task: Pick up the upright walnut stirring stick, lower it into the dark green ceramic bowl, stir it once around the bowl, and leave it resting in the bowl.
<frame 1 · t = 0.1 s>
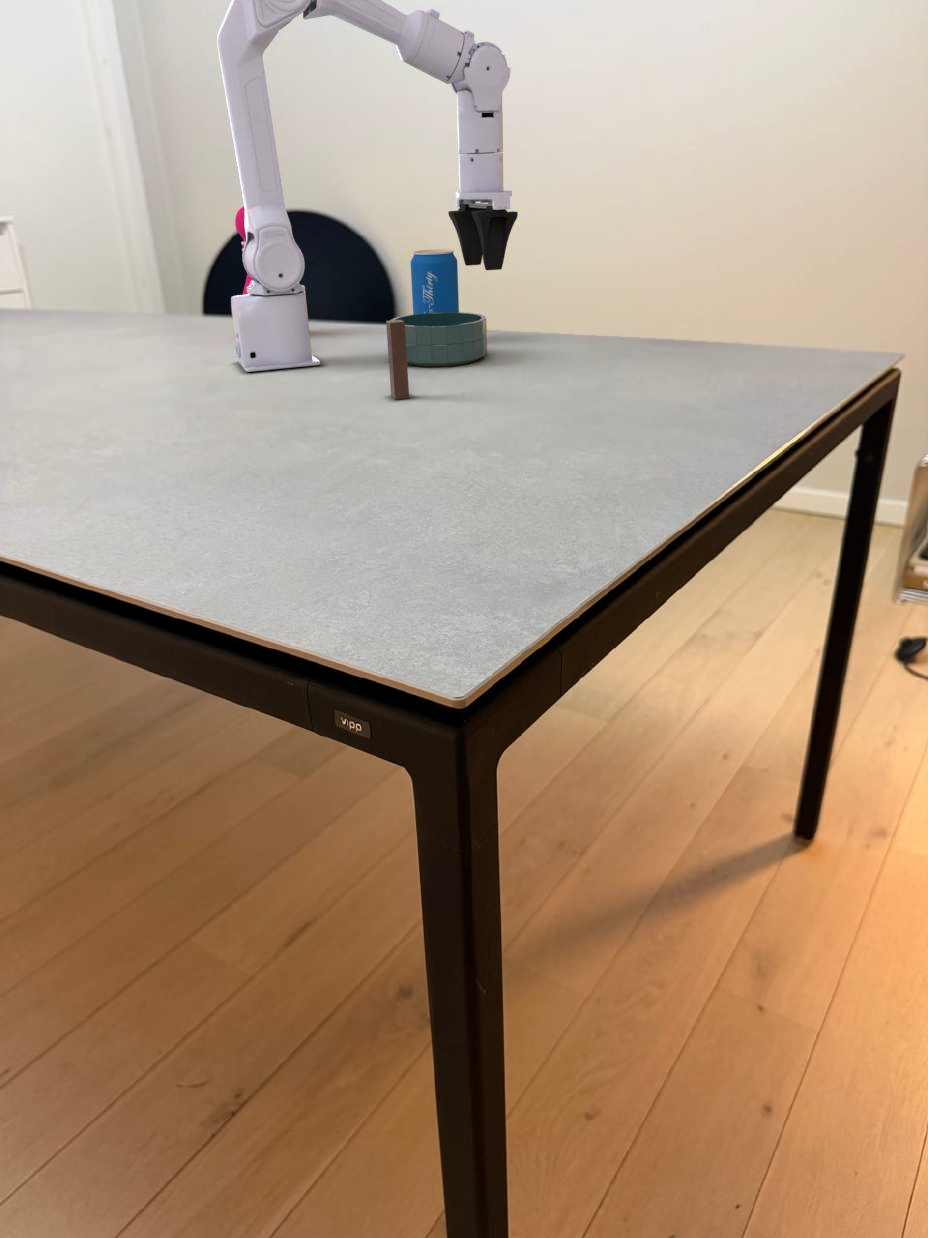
hand: (483, 267, 123), 10 cm above the table, tool pointing down, fingers open, 7 cm apart
beverage can: (437, 342, 132), on the table
bowl: (439, 358, 119), on the table
stirring stick: (400, 397, 100), on the table
pepper mill: (270, 337, 141), on the table
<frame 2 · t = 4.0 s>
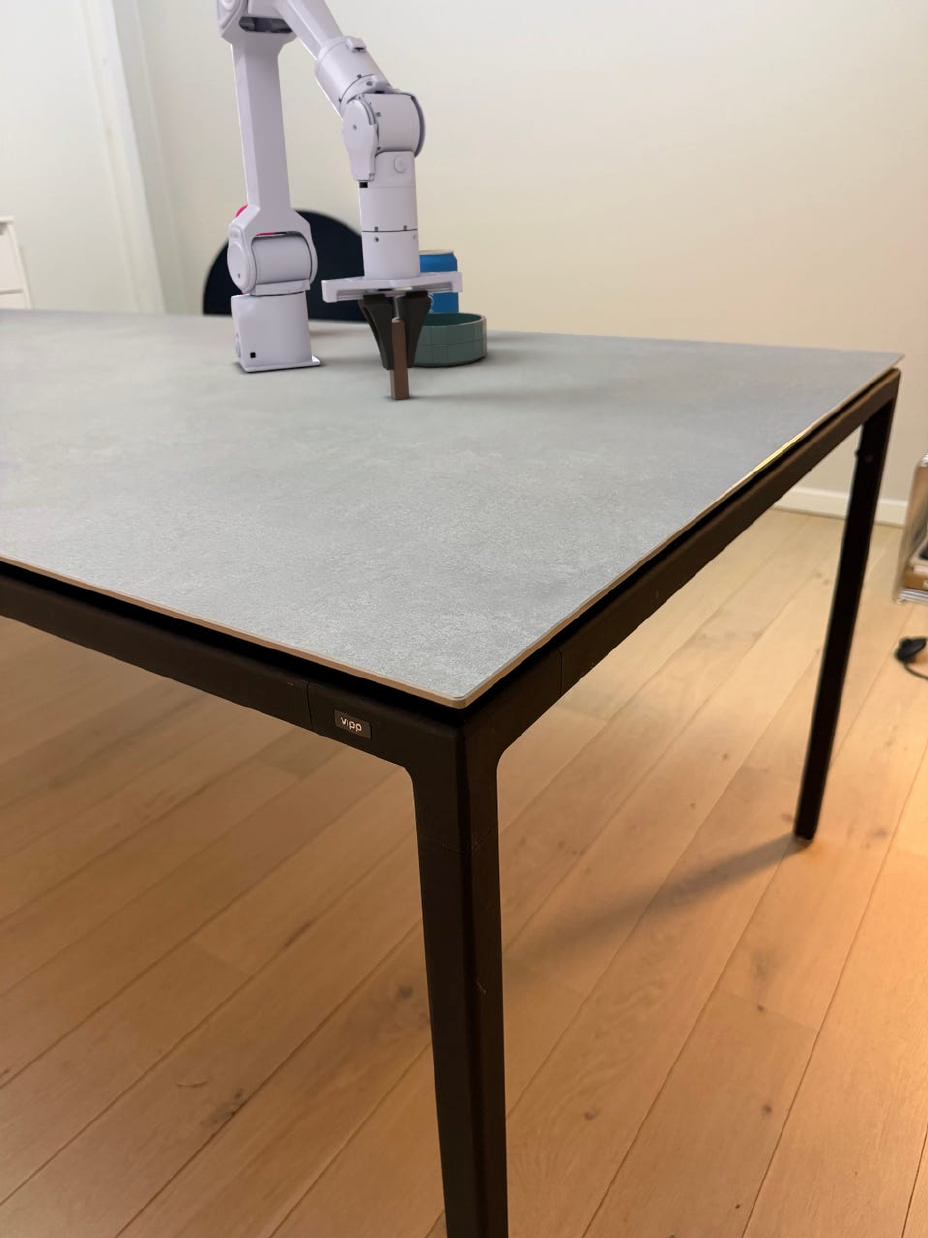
hand: (398, 367, 98), 3 cm above the table, tool pointing down, fingers closed on stirring stick, 1 cm apart
stirring stick: (400, 397, 100), on the table, touching gripper
everything else where it was.
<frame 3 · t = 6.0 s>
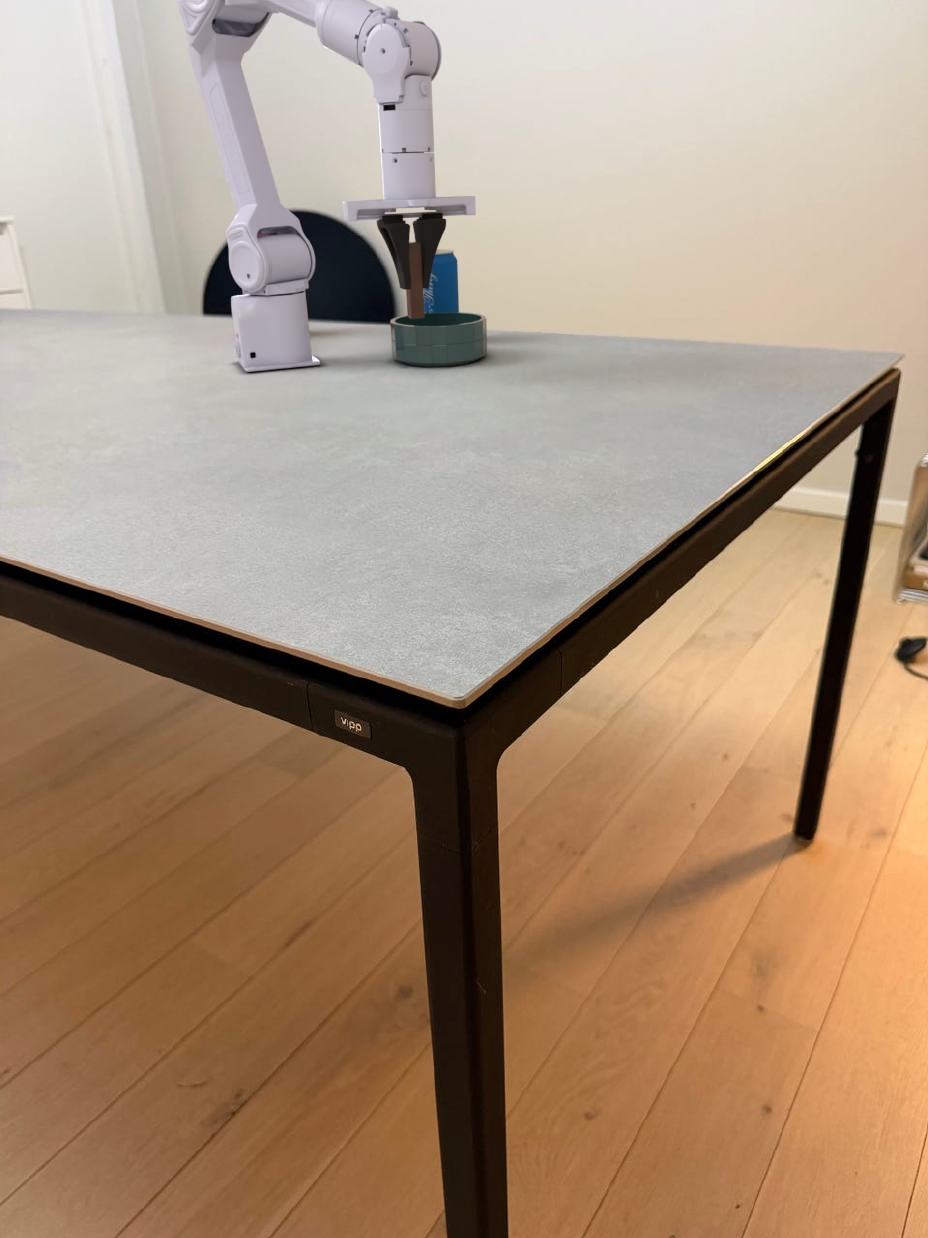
hand: (414, 287, 104), 10 cm above the table, tool pointing down, fingers closed on stirring stick
stirring stick: (416, 317, 105), point 7 cm above the table, touching gripper
everything else where it was.
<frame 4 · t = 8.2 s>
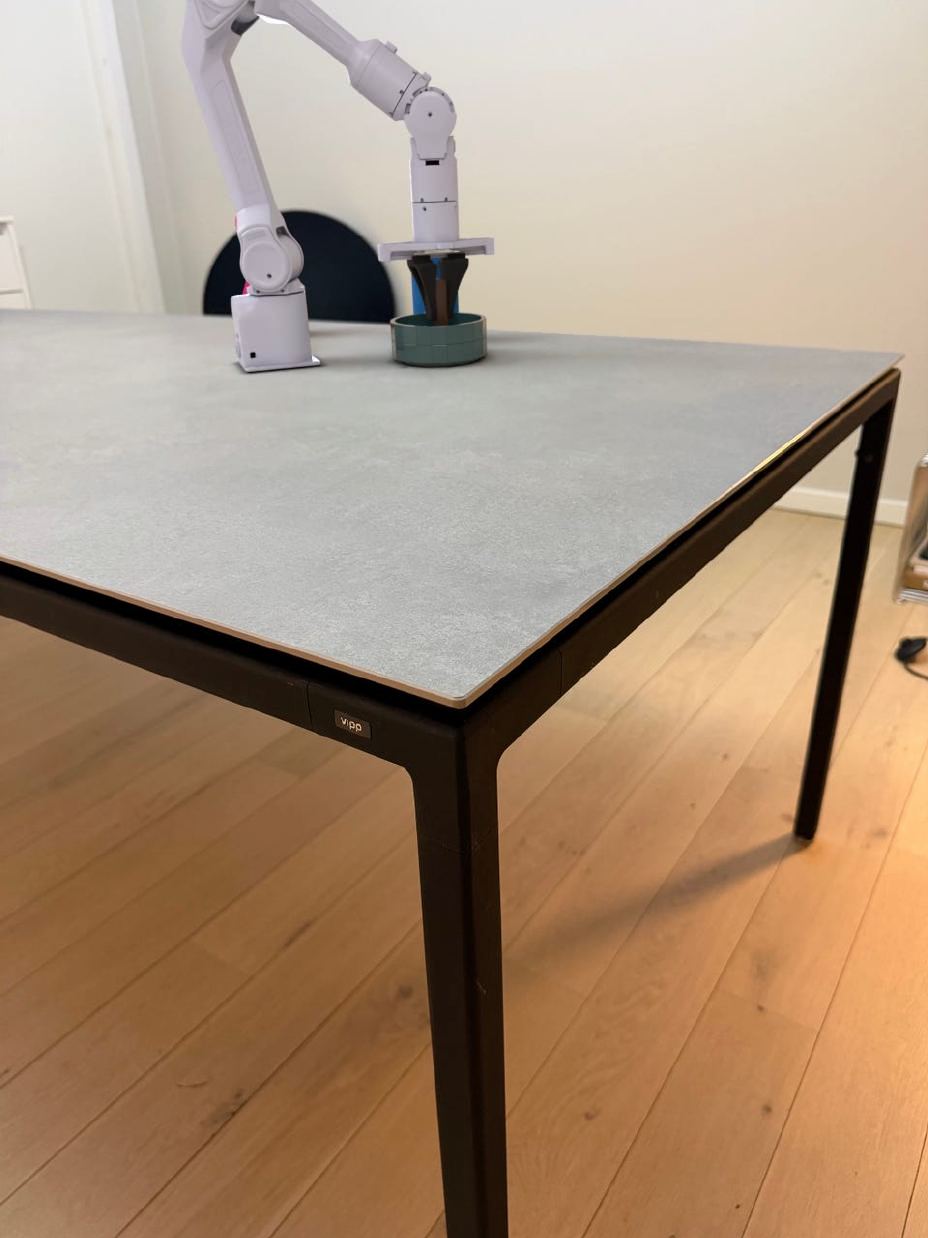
hand: (439, 318, 117), 5 cm above the table, tool pointing down, fingers closed on stirring stick, 1 cm apart
stirring stick: (441, 344, 118), point 2 cm above the table, touching gripper
everything else where it was.
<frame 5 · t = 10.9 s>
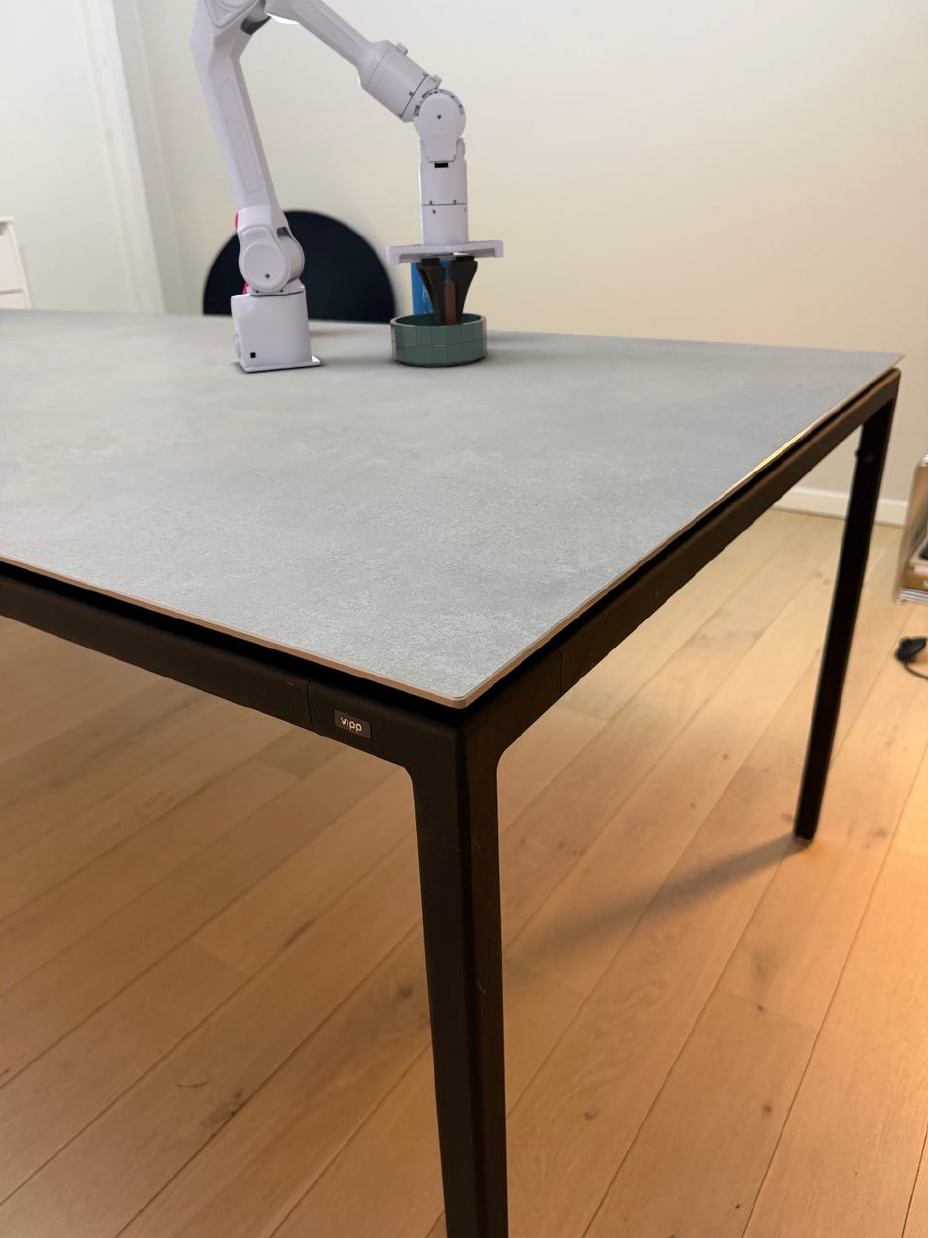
hand: (448, 321, 117), 5 cm above the table, tool pointing down, fingers closed on stirring stick, 1 cm apart
stirring stick: (449, 347, 118), point 2 cm above the table, touching gripper
everything else where it was.
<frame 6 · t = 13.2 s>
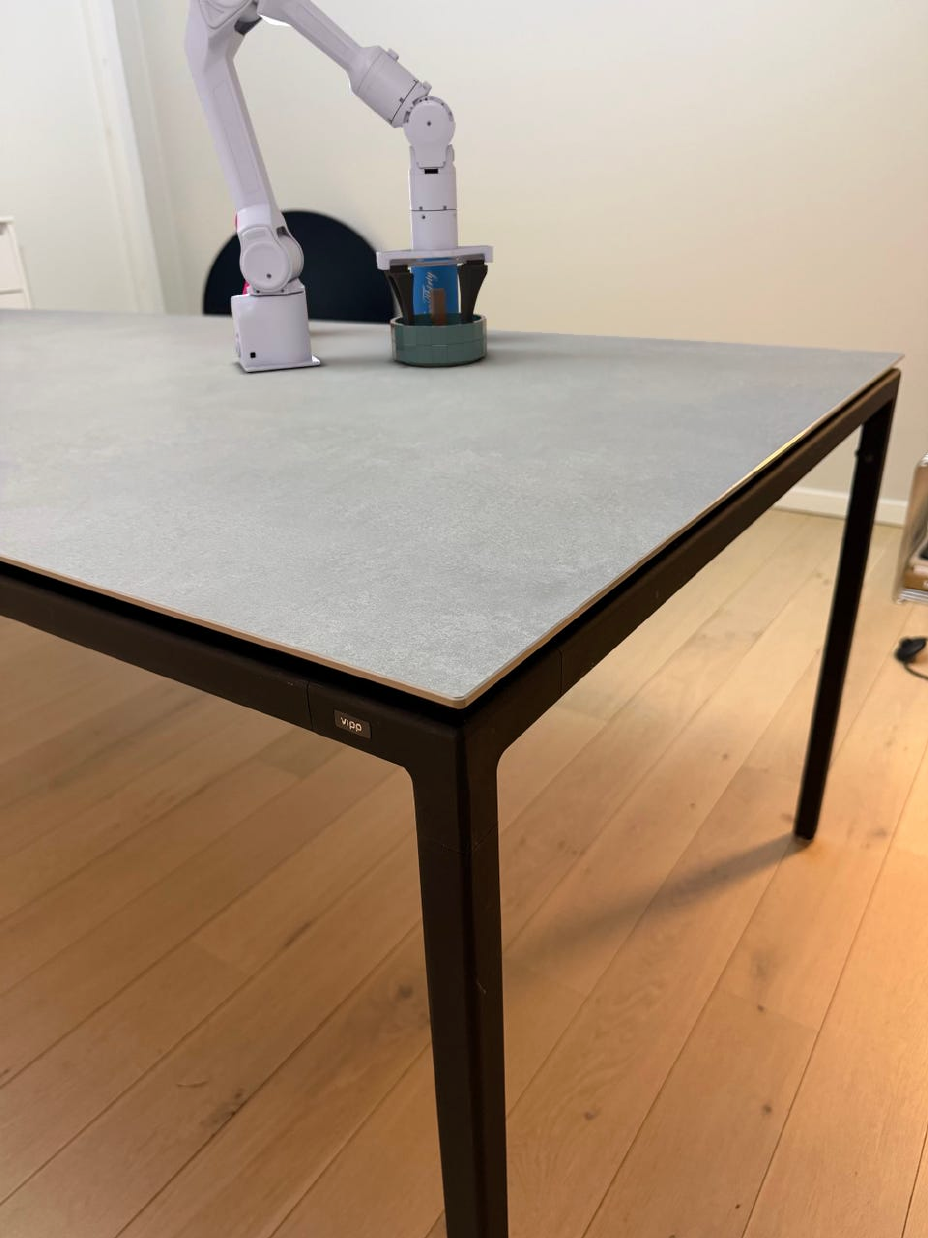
hand: (438, 326, 117), 4 cm above the table, tool pointing down, fingers open, 7 cm apart
stirring stick: (440, 354, 119), point 1 cm above the table, touching bowl
everything else where it was.
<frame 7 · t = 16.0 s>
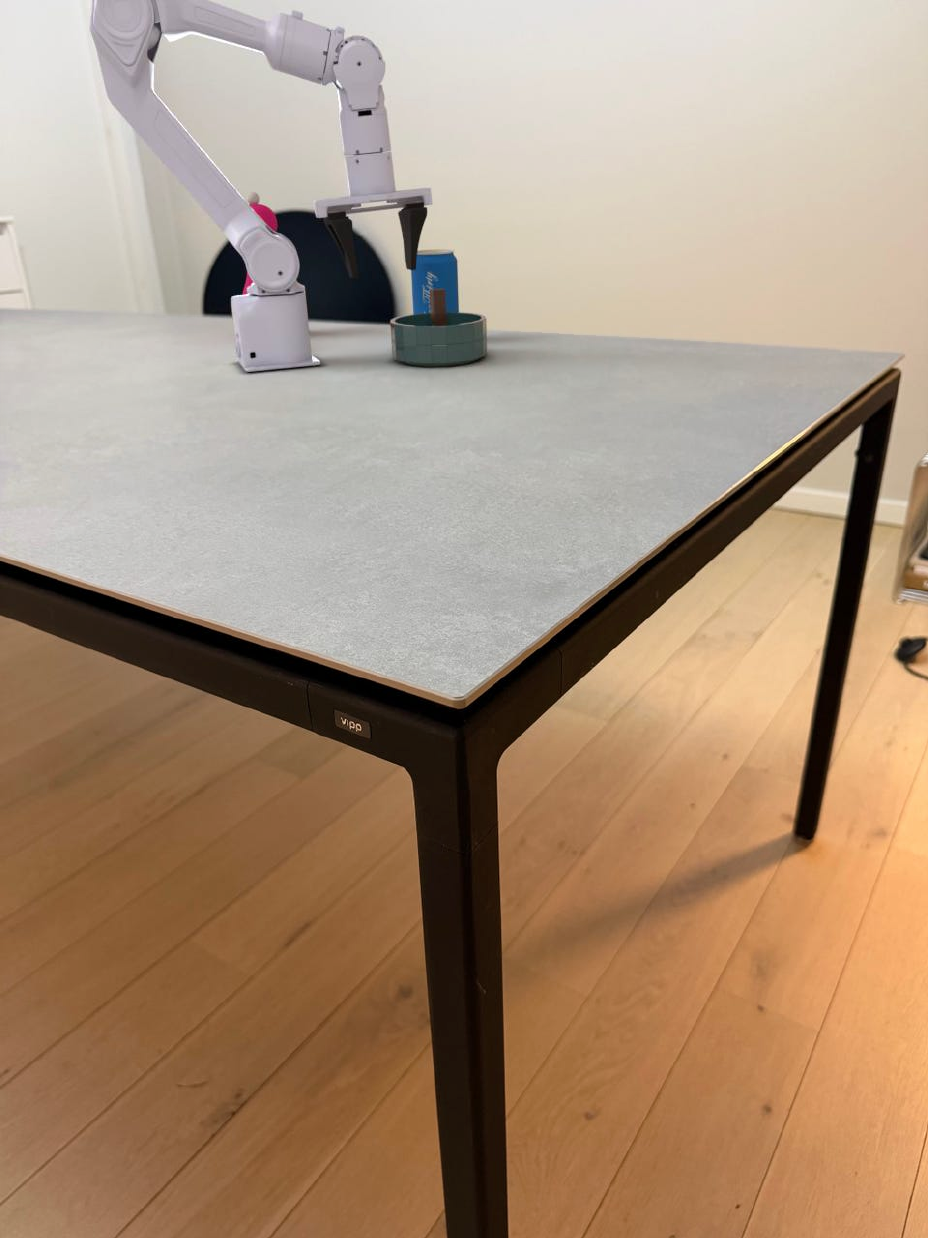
hand: (382, 273, 117), 10 cm above the table, tool pointing down, fingers open, 7 cm apart
nothing on the table moved.
at the end: stirring stick inside the target area in the bowl (0.0 cm from its centre), point 0.6 cm above the bowl's base; stirring stick moved 22.0 cm from its start; the gripper is holding nothing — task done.
